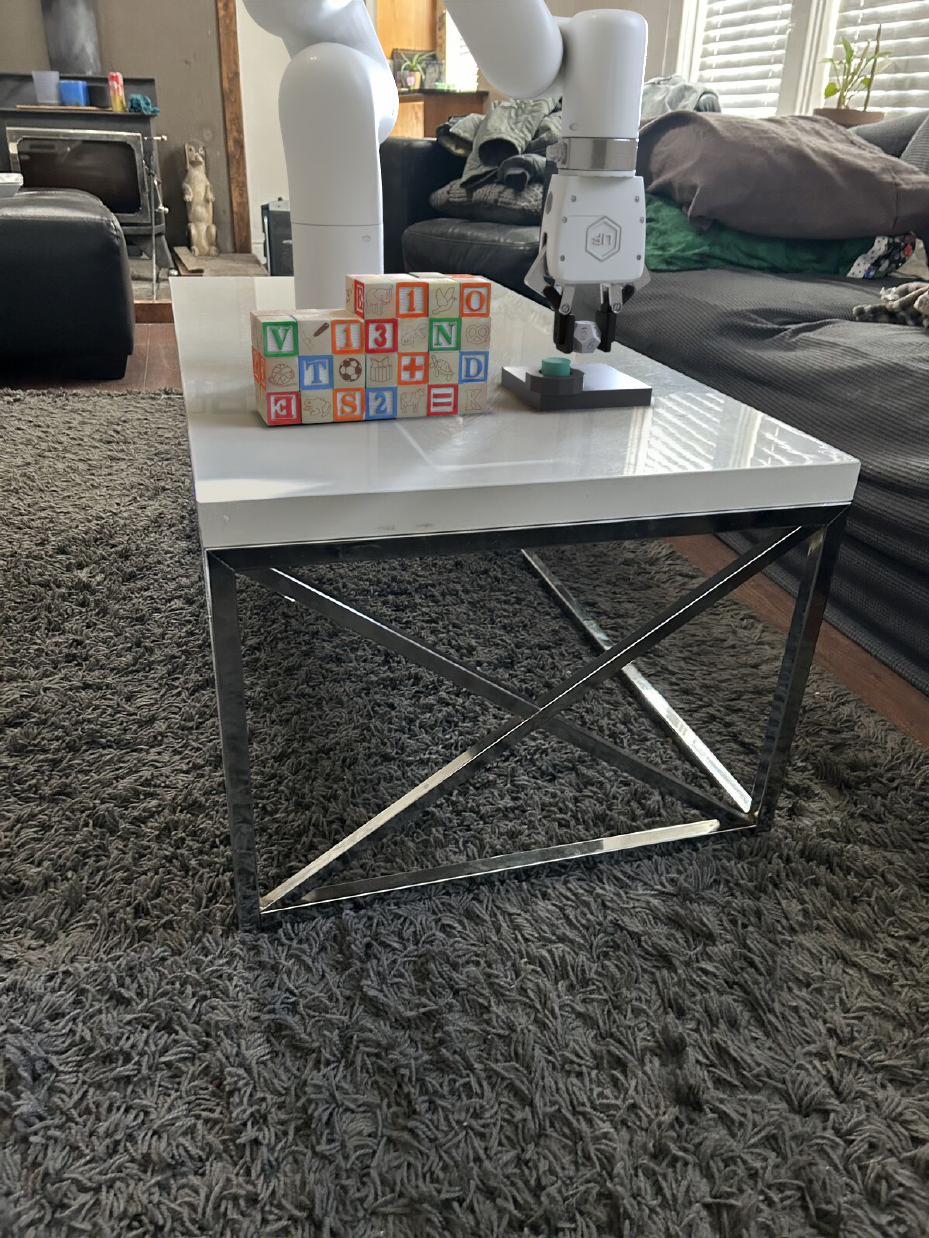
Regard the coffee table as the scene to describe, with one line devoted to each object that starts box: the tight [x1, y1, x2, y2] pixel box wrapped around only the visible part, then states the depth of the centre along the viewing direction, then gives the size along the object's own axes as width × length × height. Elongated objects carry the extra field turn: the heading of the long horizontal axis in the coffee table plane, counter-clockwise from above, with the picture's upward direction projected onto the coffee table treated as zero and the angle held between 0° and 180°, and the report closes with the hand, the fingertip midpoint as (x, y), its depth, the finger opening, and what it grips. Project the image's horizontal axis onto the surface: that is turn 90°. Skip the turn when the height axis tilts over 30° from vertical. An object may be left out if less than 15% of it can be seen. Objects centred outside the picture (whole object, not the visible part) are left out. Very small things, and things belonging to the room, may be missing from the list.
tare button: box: [541, 356, 571, 376], centre depth 94 cm, size 3×3×2 cm
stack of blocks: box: [249, 272, 492, 426], centre depth 89 cm, size 21×6×12 cm, turn 110°
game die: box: [572, 320, 601, 354], centre depth 101 cm, size 4×4×3 cm
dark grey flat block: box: [500, 362, 653, 412], centre depth 99 cm, size 13×13×4 cm
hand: (583, 349), depth 101 cm, fingers closed on game die, 3 cm apart
